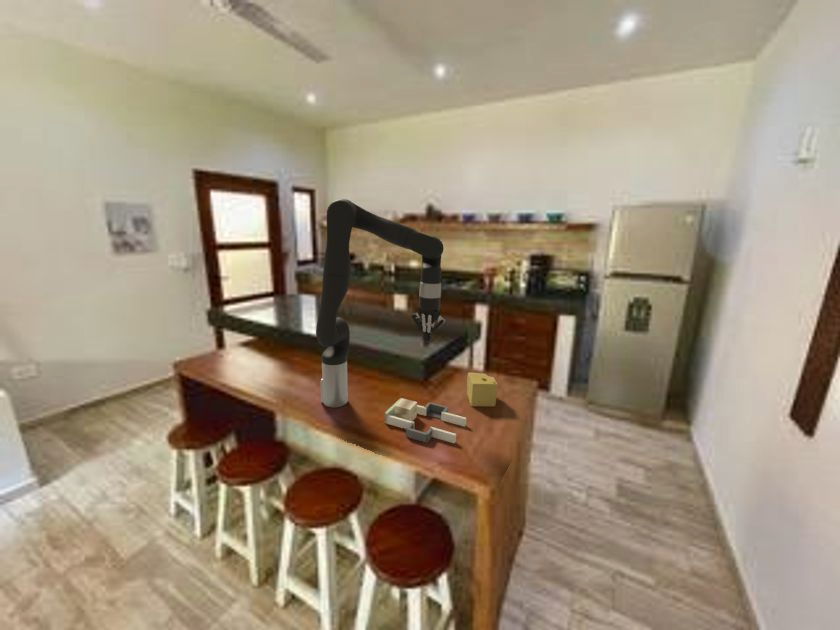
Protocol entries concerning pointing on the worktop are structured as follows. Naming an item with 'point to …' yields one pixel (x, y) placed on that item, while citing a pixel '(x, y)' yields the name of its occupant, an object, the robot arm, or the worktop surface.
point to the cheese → (481, 389)
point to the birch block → (406, 409)
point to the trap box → (435, 412)
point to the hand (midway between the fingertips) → (427, 341)
